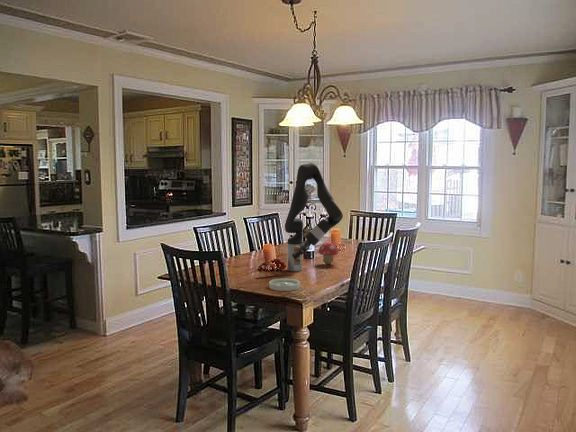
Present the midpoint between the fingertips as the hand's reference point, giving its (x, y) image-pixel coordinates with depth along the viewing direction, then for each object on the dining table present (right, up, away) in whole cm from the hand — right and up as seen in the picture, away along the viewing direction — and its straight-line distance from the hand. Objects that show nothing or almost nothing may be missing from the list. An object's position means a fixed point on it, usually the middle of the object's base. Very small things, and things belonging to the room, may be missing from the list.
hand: (293, 257), depth 282 cm
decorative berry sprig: (-13, -14, +29) cm, 35 cm away
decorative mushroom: (+24, -10, +59) cm, 65 cm away
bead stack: (+2, -4, +1) cm, 5 cm away
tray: (-5, -16, -1) cm, 17 cm away
